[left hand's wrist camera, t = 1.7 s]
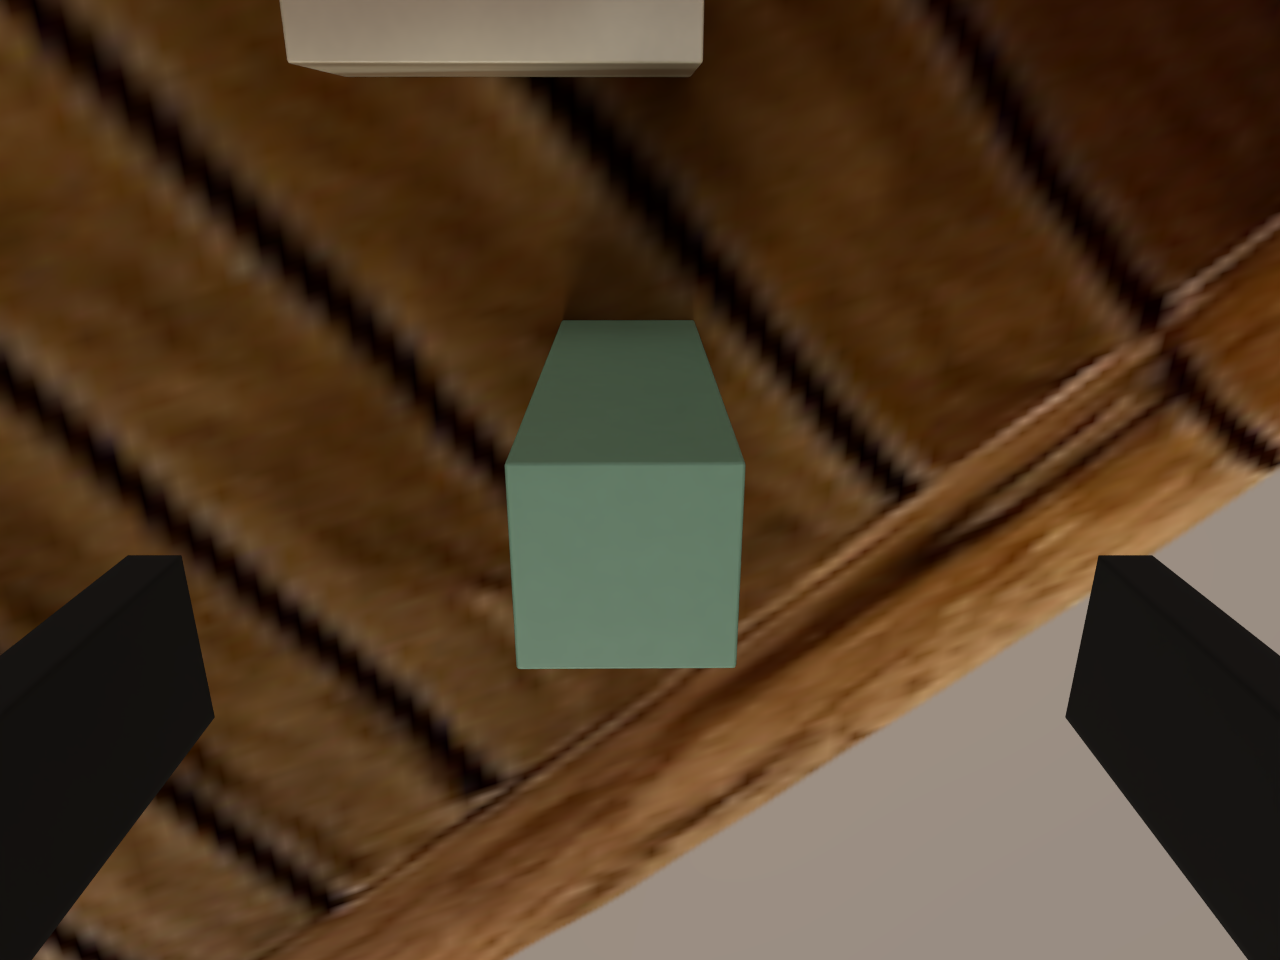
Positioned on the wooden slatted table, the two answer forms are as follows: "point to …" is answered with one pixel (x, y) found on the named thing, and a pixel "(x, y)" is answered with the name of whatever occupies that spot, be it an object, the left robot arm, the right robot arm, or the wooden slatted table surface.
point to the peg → (625, 504)
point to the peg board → (495, 37)
